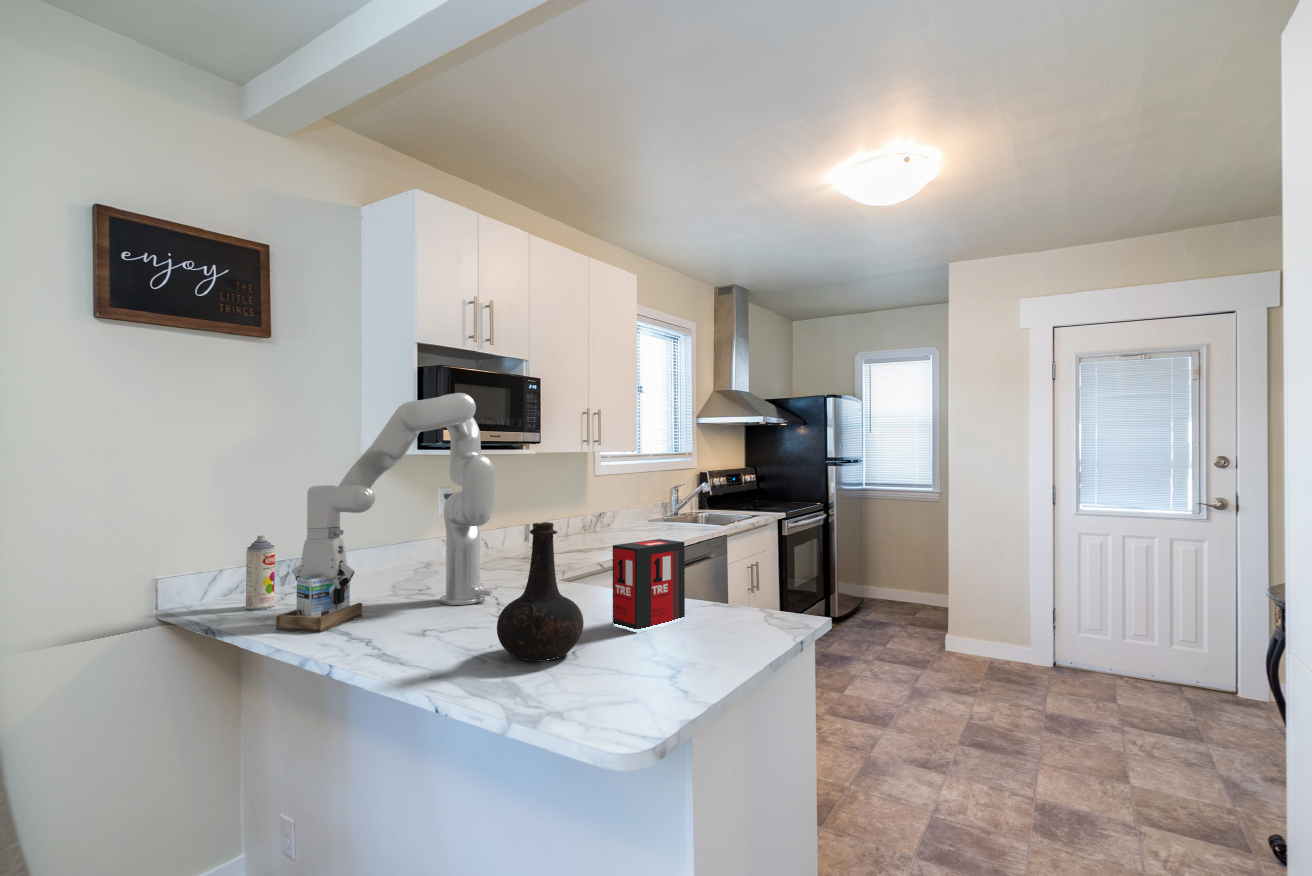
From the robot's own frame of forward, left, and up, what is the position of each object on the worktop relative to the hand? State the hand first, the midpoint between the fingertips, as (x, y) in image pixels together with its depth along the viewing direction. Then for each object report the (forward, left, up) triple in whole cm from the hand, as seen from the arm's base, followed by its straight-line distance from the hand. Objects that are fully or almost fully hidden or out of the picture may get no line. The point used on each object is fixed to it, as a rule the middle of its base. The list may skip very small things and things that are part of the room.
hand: (323, 602), depth 164 cm
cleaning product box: (-82, -12, -5) cm, 83 cm away
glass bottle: (-64, +17, -5) cm, 66 cm away
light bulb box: (0, 0, -4) cm, 4 cm away
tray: (0, +1, -5) cm, 5 cm away
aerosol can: (+28, -11, -5) cm, 31 cm away
